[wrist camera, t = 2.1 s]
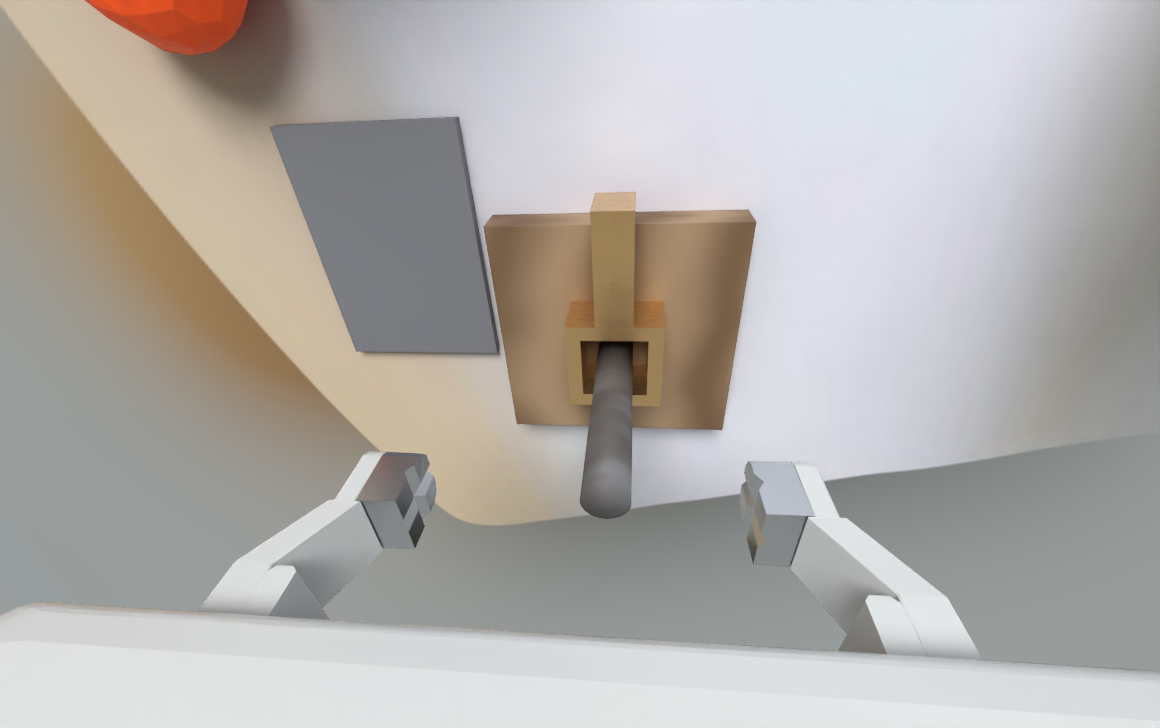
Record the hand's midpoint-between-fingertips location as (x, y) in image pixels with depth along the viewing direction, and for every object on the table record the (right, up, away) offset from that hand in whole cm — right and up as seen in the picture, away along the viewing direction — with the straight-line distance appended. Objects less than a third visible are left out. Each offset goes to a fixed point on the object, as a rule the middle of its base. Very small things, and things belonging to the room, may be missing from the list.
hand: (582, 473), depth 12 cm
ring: (+2, +7, +14) cm, 16 cm away
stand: (+2, +5, +18) cm, 19 cm away
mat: (-11, +10, +16) cm, 22 cm away
